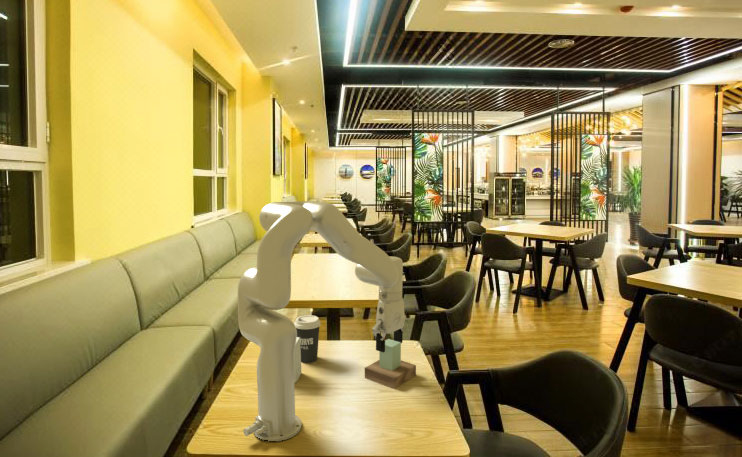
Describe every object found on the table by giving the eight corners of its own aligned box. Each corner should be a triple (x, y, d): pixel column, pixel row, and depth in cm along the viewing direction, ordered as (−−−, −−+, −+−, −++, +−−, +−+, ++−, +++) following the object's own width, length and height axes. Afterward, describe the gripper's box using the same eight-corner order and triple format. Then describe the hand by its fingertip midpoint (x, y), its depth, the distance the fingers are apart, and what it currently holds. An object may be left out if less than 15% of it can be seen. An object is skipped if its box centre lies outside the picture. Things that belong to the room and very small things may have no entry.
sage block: (392, 370, 153) (392, 347, 152) (379, 366, 156) (379, 343, 155) (400, 365, 157) (400, 342, 156) (388, 361, 160) (388, 338, 159)
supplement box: (302, 372, 160) (301, 336, 158) (296, 383, 152) (295, 345, 150) (280, 371, 160) (279, 336, 158) (273, 382, 153) (272, 344, 151)
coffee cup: (292, 355, 173) (291, 315, 171) (318, 352, 176) (317, 313, 174) (296, 366, 164) (295, 324, 162) (324, 362, 167) (323, 321, 165)
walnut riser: (394, 390, 149) (394, 378, 148) (364, 379, 156) (364, 367, 155) (415, 376, 158) (415, 365, 157) (386, 366, 165) (386, 355, 165)
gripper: (383, 303, 144) (382, 358, 146) (414, 291, 157) (413, 341, 159) (364, 299, 148) (363, 351, 150) (396, 288, 162) (395, 336, 164)
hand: (389, 346), depth 155 cm, fingers open, 9 cm apart
